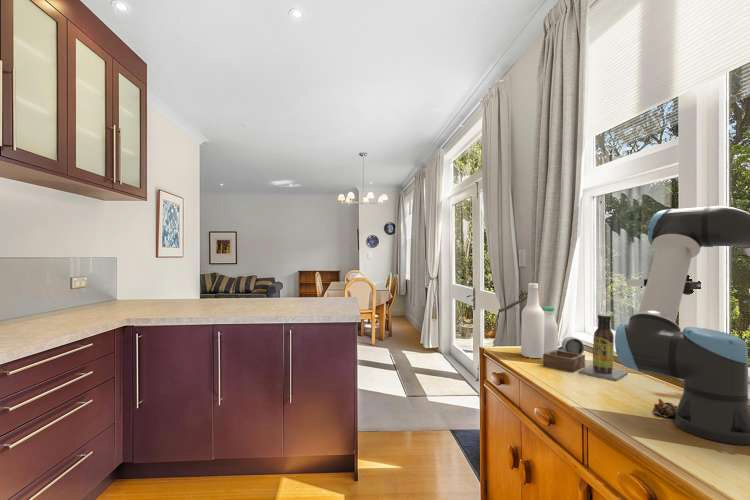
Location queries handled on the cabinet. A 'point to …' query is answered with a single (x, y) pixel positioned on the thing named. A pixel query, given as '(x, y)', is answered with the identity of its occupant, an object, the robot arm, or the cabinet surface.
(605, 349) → the sauce bottle
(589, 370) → the slate tile
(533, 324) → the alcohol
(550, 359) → the walnut collar
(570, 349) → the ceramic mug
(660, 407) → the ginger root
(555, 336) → the milk bottle
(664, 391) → the cabinet surface
